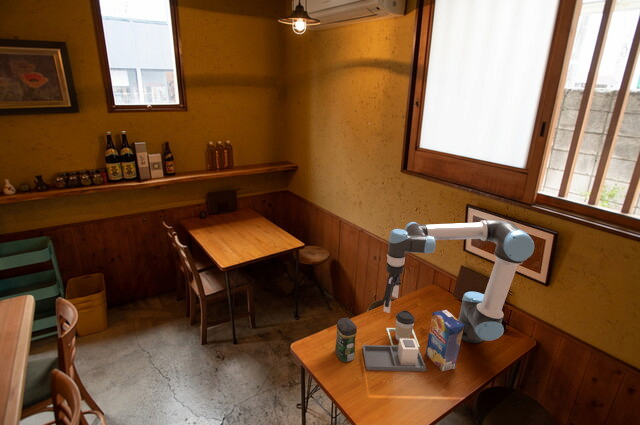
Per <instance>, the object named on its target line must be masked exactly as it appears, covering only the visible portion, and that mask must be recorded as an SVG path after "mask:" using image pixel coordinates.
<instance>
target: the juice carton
mask: <svg viewBox="0 0 640 425" xmlns="http://www.w3.org/2000/svg"><path fill="white" fill-rule="evenodd" d="M457 319H458V318H456V316H454V315H453V314H452V313H451V312H450V311H449V310H447V309H442V310H437V311H433V312H432V315H431V320H430V325H429V332H428V337H427V344H426V350H425V354H426V356H427V357H428V359H430V360H431V361H432V362H433V364H434V365H435V366H436V367H437V368H438V369H439V370H440V372H445V371H448V370H449V371H450V370H454V371H455V370H456V366H457V361H458V357H459V352H460V346H461V342H462V339H461V338H462V333H463V329H464V325H463V324H462V323H461V322H460V321H459V320H457Z"/></svg>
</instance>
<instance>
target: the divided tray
mask: <svg viewBox="0 0 640 425" xmlns="http://www.w3.org/2000/svg"><path fill="white" fill-rule="evenodd" d="M418 349H419V351H418V357H417V363H416V366H415V365H401V364H400V361H399V358H398V354H397V353H398V346H391V345H385V344H384V345H383V344H382V345H380V344H362V353H363V358H364V364H365V365H364V366H365V370H366V371H387V372H388V371H394V372H395V371H396V372H398V371H399V372H426V371H427V367H426V364H425V362H424V359H423V357H422V356H423V355H422V354H421V351H420V348H418Z"/></svg>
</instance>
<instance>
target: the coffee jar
mask: <svg viewBox="0 0 640 425" xmlns="http://www.w3.org/2000/svg"><path fill="white" fill-rule="evenodd" d="M357 329H358V328H357V325H356V324H355V323H354V321H353V320H352V319H351V318H348V317H343V318H339V319H338V320H337V323H336V337H335V338H336V339H335V348H334V352H335V354H336V356H337V358H338V359H339V361H341V362H344V363H346V362H347V363H348V362H351V361H353V360H355V355H356V350H355V349H356V336H357V332H358V331H357Z"/></svg>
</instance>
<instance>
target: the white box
mask: <svg viewBox="0 0 640 425" xmlns="http://www.w3.org/2000/svg"><path fill="white" fill-rule="evenodd" d="M398 345H399V346H398V353H397V354H398V358H399V361H400V364H401V365H415V366H416V363H417V357H418V351H420V348H419V349H418V346H417V344H416V341H415V339H414V338H410V339H404V338H400V339H399V341H398Z"/></svg>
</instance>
